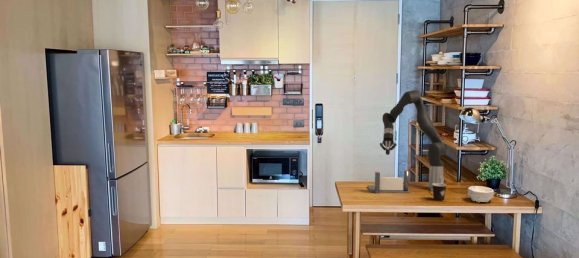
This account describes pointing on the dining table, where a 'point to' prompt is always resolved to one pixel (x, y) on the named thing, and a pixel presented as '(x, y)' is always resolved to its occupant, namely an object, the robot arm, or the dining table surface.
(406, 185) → the gate posts
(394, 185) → the gate
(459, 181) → the dining table surface
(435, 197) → the coffee mug
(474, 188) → the paper bowls
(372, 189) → the mat
